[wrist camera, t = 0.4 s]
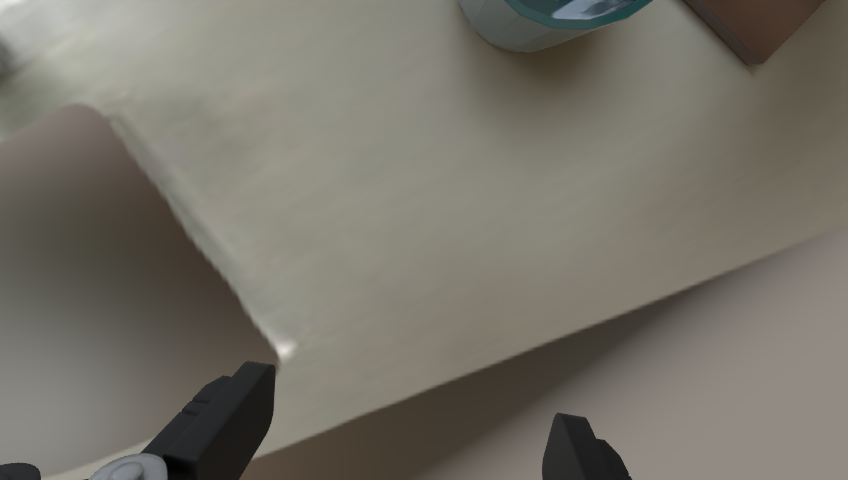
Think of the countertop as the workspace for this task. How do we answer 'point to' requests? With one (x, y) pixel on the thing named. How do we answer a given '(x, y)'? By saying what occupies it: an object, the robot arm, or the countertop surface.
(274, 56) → the countertop surface
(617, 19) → the dark teal cup
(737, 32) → the walnut stand
